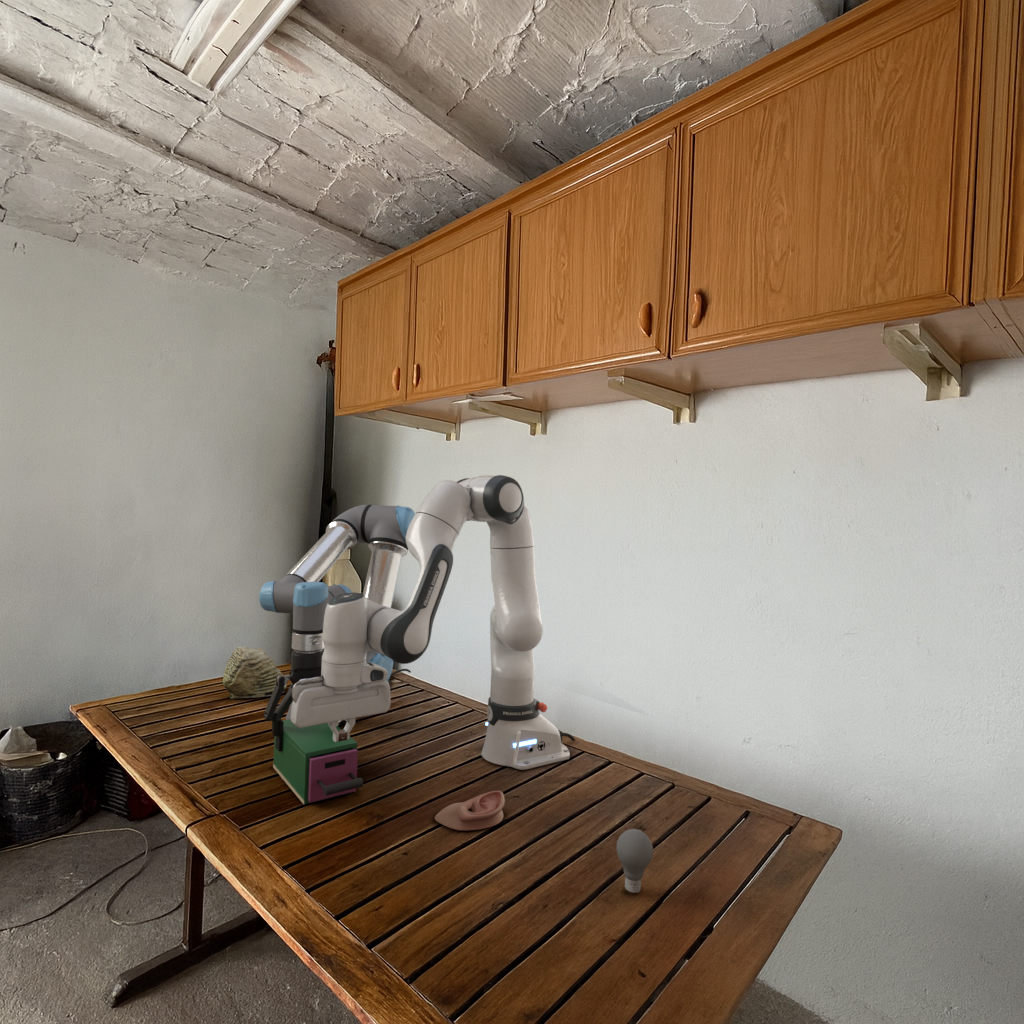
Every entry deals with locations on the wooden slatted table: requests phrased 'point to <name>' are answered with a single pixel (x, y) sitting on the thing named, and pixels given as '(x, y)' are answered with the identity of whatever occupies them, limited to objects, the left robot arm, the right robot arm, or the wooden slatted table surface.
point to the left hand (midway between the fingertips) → (305, 744)
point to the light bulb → (634, 857)
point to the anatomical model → (474, 812)
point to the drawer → (333, 774)
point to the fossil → (250, 674)
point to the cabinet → (304, 754)
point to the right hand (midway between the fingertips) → (341, 740)
